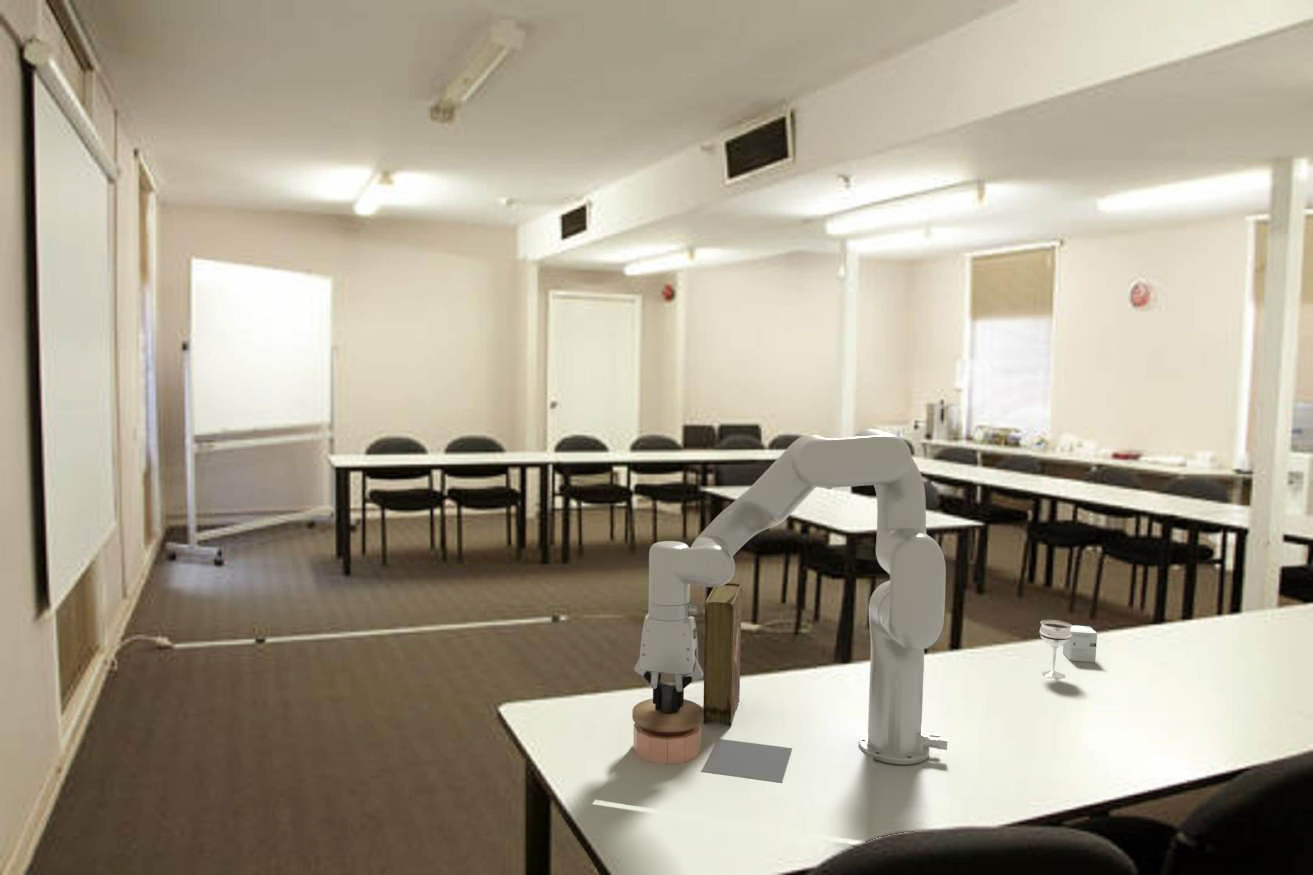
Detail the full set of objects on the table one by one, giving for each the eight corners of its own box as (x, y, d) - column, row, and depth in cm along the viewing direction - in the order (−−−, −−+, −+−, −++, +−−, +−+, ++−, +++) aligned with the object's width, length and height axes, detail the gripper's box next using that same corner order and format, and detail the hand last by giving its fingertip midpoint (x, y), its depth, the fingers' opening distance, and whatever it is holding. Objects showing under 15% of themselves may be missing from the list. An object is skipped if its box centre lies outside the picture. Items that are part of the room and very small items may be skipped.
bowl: (706, 742, 167) (706, 716, 166) (691, 770, 155) (691, 742, 155) (645, 734, 170) (645, 709, 170) (626, 761, 159) (626, 734, 158)
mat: (792, 751, 164) (792, 748, 164) (781, 785, 150) (781, 782, 150) (717, 741, 167) (717, 738, 167) (701, 774, 154) (701, 771, 154)
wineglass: (1074, 679, 202) (1077, 628, 201) (1044, 679, 202) (1047, 628, 201) (1061, 669, 209) (1064, 619, 208) (1032, 669, 209) (1035, 619, 208)
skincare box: (1069, 660, 216) (1071, 631, 215) (1062, 652, 222) (1063, 624, 221) (1096, 662, 215) (1097, 632, 214) (1088, 654, 221) (1089, 625, 220)
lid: (710, 707, 167) (710, 675, 166) (694, 736, 154) (695, 701, 154) (643, 700, 170) (644, 668, 170) (623, 727, 158) (623, 693, 157)
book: (714, 696, 190) (716, 581, 188) (740, 698, 189) (742, 583, 187) (703, 727, 174) (705, 602, 172) (730, 729, 173) (733, 604, 171)
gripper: (717, 608, 162) (715, 706, 163) (632, 601, 166) (631, 696, 168) (708, 620, 155) (707, 722, 156) (620, 612, 159) (619, 711, 161)
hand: (668, 707), depth 162 cm, fingers closed on lid, 2 cm apart
